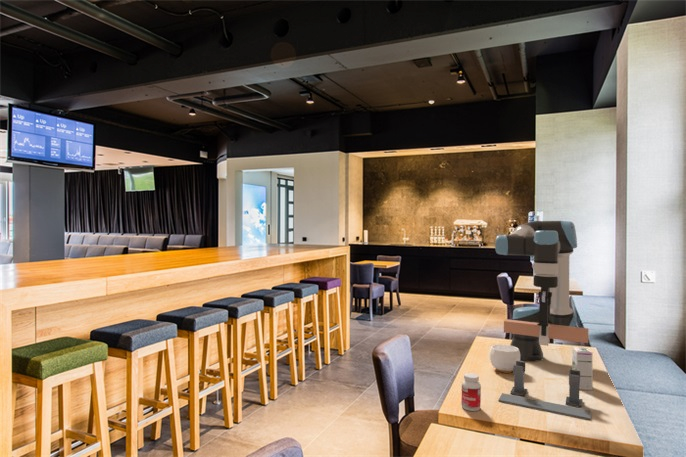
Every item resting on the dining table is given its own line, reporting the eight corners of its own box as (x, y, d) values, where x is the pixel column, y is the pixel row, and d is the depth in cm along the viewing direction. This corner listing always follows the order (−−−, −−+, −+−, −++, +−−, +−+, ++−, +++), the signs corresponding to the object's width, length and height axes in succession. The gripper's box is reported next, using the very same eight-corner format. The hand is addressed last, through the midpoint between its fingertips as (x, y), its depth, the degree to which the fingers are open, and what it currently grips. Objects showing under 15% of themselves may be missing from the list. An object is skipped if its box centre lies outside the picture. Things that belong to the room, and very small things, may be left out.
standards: (513, 388, 164) (513, 360, 164) (582, 401, 152) (583, 371, 152) (510, 394, 158) (510, 365, 158) (582, 408, 146) (582, 377, 146)
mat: (502, 394, 157) (502, 393, 157) (590, 412, 143) (590, 410, 143) (498, 401, 151) (498, 399, 151) (590, 420, 137) (590, 418, 137)
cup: (488, 373, 181) (488, 350, 181) (490, 364, 192) (490, 342, 192) (520, 377, 176) (520, 353, 176) (520, 368, 188) (520, 345, 187)
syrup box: (593, 390, 163) (593, 351, 163) (576, 389, 164) (576, 350, 164) (587, 384, 168) (588, 347, 168) (571, 383, 169) (571, 346, 169)
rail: (505, 330, 156) (505, 319, 156) (588, 340, 143) (588, 328, 143) (503, 332, 153) (503, 321, 153) (588, 343, 140) (588, 330, 140)
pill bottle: (458, 408, 145) (458, 375, 145) (466, 402, 150) (466, 370, 150) (476, 413, 141) (476, 379, 141) (483, 407, 146) (483, 375, 146)
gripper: (536, 272, 157) (535, 336, 157) (530, 276, 143) (529, 347, 143) (559, 274, 154) (558, 339, 154) (555, 278, 139) (554, 350, 139)
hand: (544, 343), depth 148 cm, fingers closed on rail, 4 cm apart
